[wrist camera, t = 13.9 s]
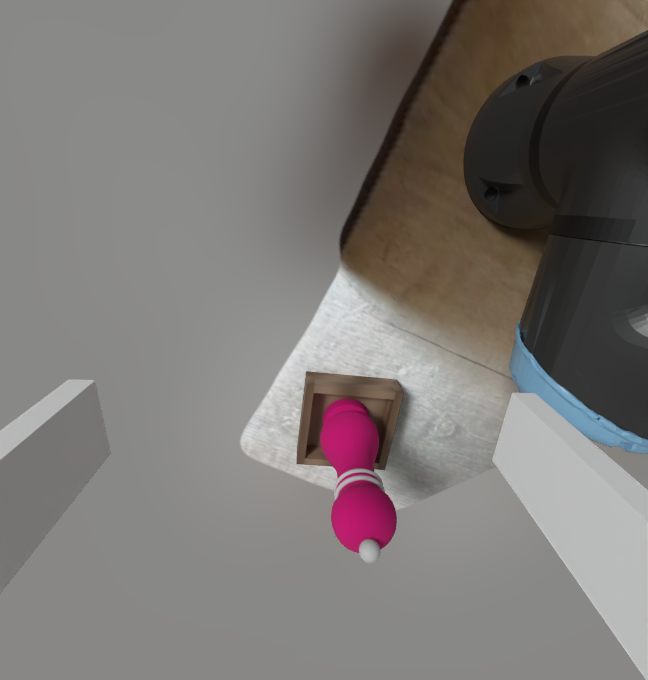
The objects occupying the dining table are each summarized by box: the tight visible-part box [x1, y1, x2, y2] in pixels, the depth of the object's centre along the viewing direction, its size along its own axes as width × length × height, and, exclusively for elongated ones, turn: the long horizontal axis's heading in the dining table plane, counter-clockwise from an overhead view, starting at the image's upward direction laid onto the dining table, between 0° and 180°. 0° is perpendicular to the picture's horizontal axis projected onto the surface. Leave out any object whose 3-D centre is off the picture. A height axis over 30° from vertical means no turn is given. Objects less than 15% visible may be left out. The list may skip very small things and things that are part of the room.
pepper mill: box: [320, 398, 397, 563], centre depth 37 cm, size 7×7×20 cm
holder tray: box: [297, 371, 403, 470], centre depth 46 cm, size 12×12×4 cm
